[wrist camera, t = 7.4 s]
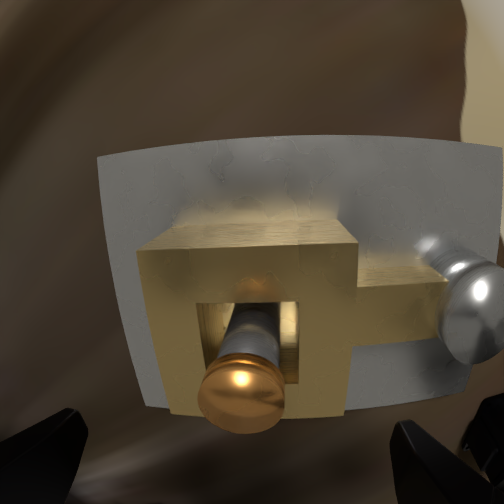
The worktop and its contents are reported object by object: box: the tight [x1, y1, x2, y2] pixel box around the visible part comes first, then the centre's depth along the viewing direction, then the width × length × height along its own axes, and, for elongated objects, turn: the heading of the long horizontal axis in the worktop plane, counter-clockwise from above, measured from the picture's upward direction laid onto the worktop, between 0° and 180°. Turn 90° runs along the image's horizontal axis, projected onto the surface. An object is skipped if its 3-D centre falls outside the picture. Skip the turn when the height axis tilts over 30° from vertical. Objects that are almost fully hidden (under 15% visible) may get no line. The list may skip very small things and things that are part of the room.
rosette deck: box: [97, 135, 504, 419], centre depth 15 cm, size 22×16×6 cm
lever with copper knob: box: [197, 302, 285, 434], centre depth 13 cm, size 3×3×8 cm
